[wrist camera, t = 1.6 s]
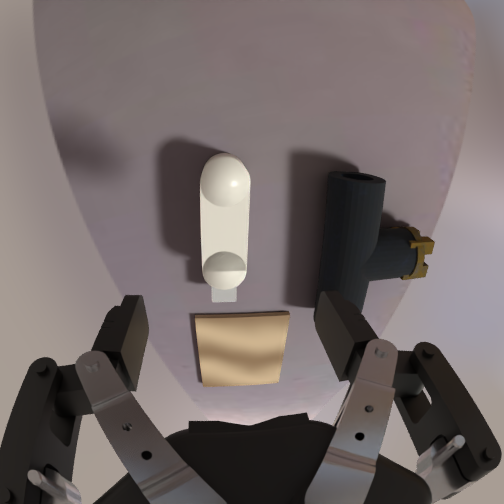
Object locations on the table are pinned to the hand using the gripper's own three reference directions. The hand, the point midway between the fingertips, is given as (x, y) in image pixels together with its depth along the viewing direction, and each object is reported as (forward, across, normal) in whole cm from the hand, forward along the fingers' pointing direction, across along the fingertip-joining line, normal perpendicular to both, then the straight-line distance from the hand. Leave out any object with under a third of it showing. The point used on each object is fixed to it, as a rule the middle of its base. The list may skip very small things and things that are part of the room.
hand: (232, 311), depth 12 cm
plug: (+13, 0, +1) cm, 13 cm away
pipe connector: (+14, -15, +3) cm, 21 cm away
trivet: (+14, -2, +17) cm, 22 cm away
